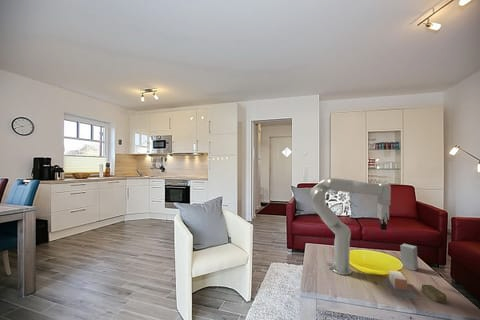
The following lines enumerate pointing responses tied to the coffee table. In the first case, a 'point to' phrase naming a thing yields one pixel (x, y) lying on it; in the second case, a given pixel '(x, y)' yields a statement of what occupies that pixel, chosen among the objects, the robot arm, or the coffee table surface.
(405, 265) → the skincare box
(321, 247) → the coffee table surface
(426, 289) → the stone block
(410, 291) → the rubber mat
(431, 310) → the coffee table surface
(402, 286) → the cream rectangular block
